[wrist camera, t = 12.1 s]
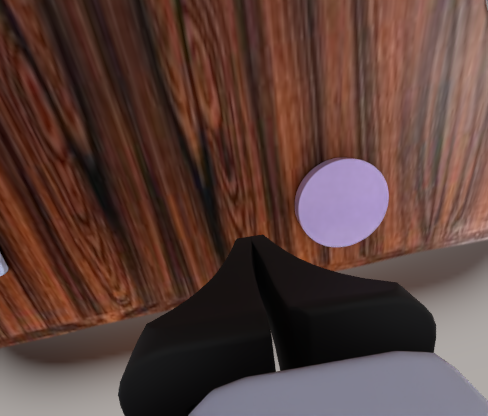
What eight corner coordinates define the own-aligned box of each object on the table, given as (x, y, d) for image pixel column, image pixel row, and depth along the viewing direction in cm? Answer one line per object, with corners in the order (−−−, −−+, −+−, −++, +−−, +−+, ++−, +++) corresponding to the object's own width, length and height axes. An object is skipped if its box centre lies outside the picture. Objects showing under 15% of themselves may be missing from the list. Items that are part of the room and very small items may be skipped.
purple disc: (375, 232, 19) (386, 240, 17) (295, 245, 19) (301, 253, 17) (378, 150, 17) (391, 151, 15) (289, 163, 17) (295, 166, 15)
